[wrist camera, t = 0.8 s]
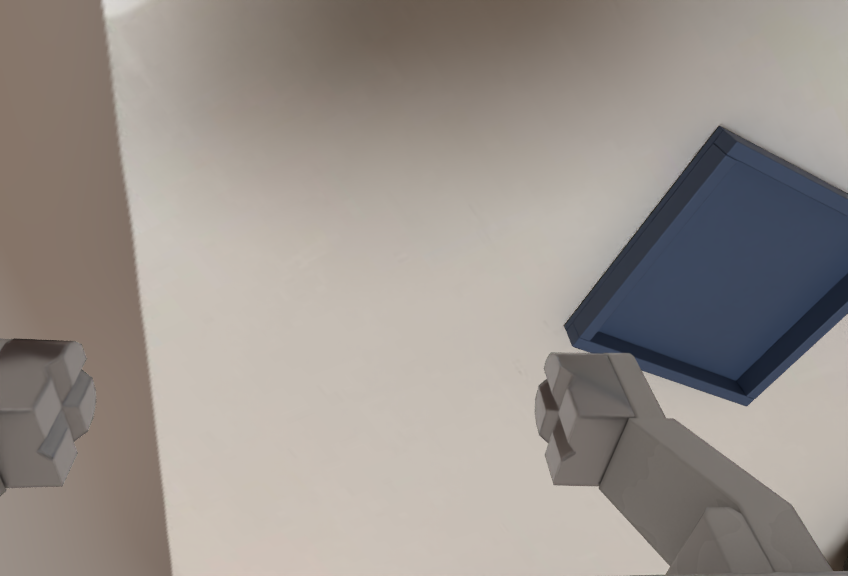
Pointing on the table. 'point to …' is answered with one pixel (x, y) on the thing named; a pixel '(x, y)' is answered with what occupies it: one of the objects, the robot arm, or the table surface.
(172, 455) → the table surface
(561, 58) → the table surface
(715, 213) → the tray
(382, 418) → the table surface
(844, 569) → the stone bowl
